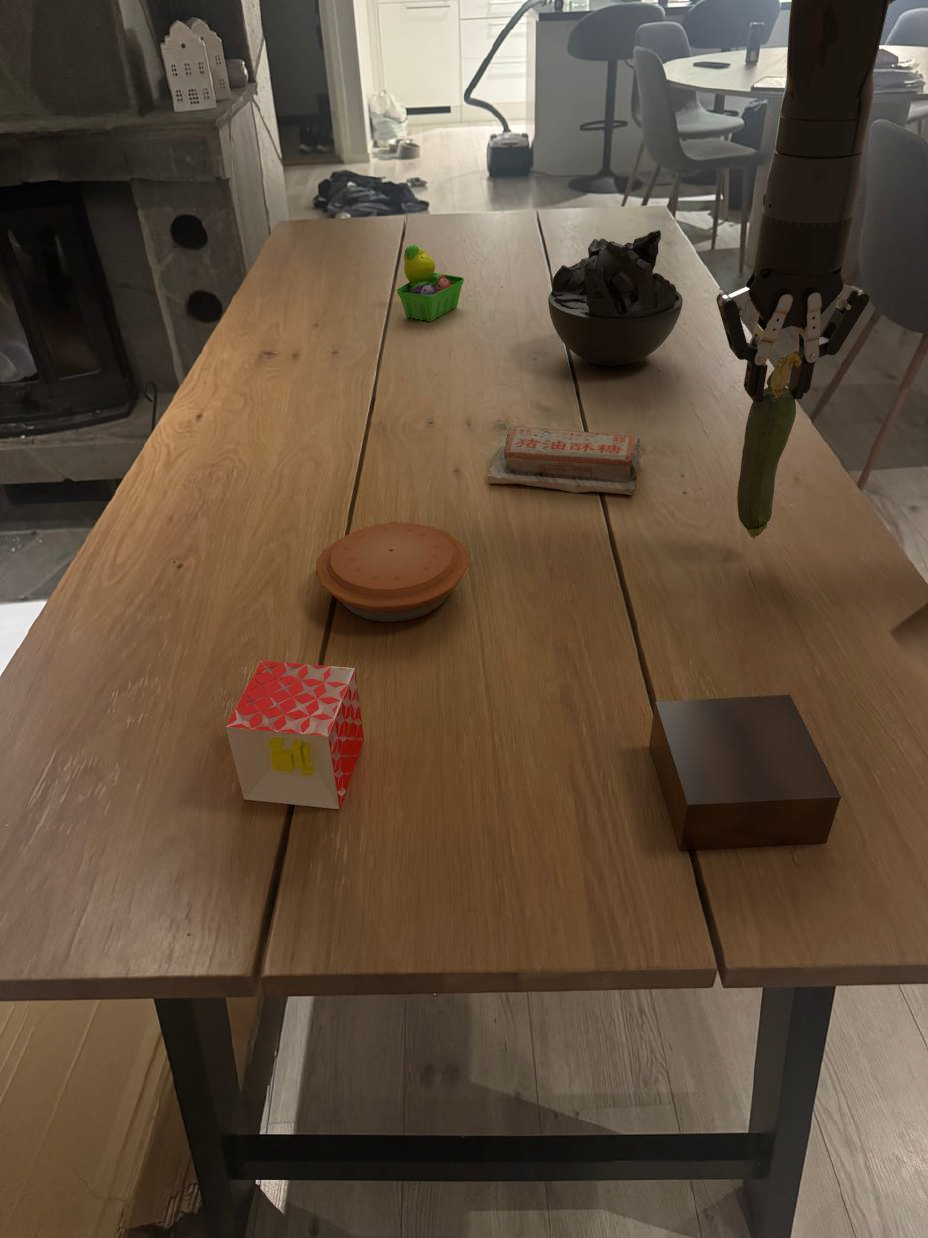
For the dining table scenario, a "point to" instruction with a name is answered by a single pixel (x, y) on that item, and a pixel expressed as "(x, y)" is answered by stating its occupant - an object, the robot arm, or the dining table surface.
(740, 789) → the block
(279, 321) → the dining table surface
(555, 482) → the packaged product
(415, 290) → the fruit basket
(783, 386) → the vegetable
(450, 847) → the dining table surface
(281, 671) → the red patterned cube box
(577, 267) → the bowl of black rocks
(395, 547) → the pie
